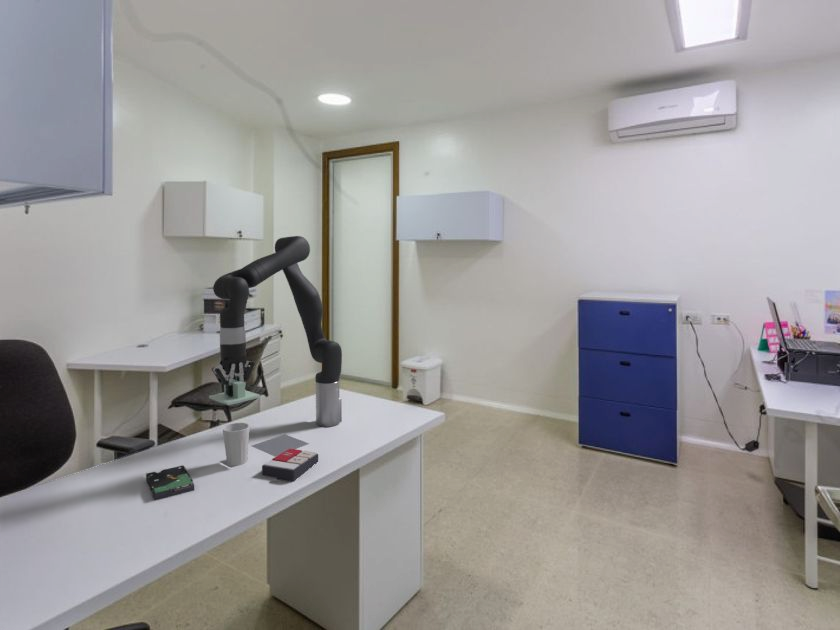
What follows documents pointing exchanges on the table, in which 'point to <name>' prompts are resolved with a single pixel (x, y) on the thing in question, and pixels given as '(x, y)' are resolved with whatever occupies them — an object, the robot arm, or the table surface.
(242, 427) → the cup
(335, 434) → the table surface
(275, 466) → the red white black box
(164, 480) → the disk drive
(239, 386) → the cover
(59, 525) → the table surface
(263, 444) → the mat
